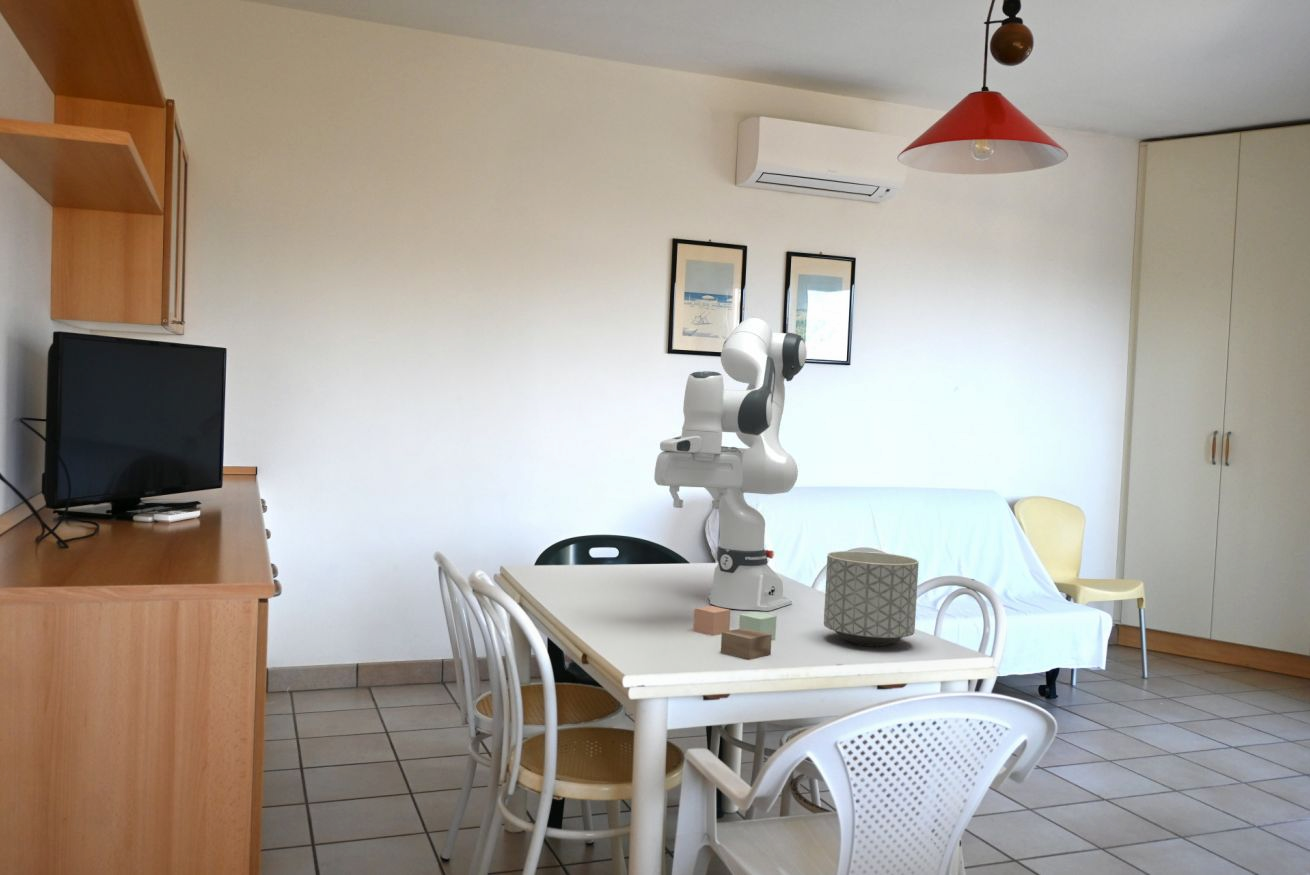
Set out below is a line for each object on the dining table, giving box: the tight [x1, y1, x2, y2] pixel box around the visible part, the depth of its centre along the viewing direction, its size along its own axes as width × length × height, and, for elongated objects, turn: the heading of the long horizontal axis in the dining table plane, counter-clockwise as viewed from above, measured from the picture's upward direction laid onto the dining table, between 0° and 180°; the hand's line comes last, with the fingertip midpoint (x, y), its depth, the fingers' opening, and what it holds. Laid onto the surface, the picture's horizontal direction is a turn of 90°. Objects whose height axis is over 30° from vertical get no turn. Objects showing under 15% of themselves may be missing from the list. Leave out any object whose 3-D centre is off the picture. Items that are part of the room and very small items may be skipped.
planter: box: [823, 550, 920, 647], centre depth 213 cm, size 19×19×18 cm
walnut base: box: [720, 628, 772, 660], centre depth 196 cm, size 7×7×4 cm
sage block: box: [738, 611, 777, 641], centre depth 211 cm, size 6×6×5 cm
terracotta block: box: [692, 605, 731, 637], centre depth 215 cm, size 6×6×5 cm
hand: (697, 508), depth 218 cm, fingers open, 8 cm apart
